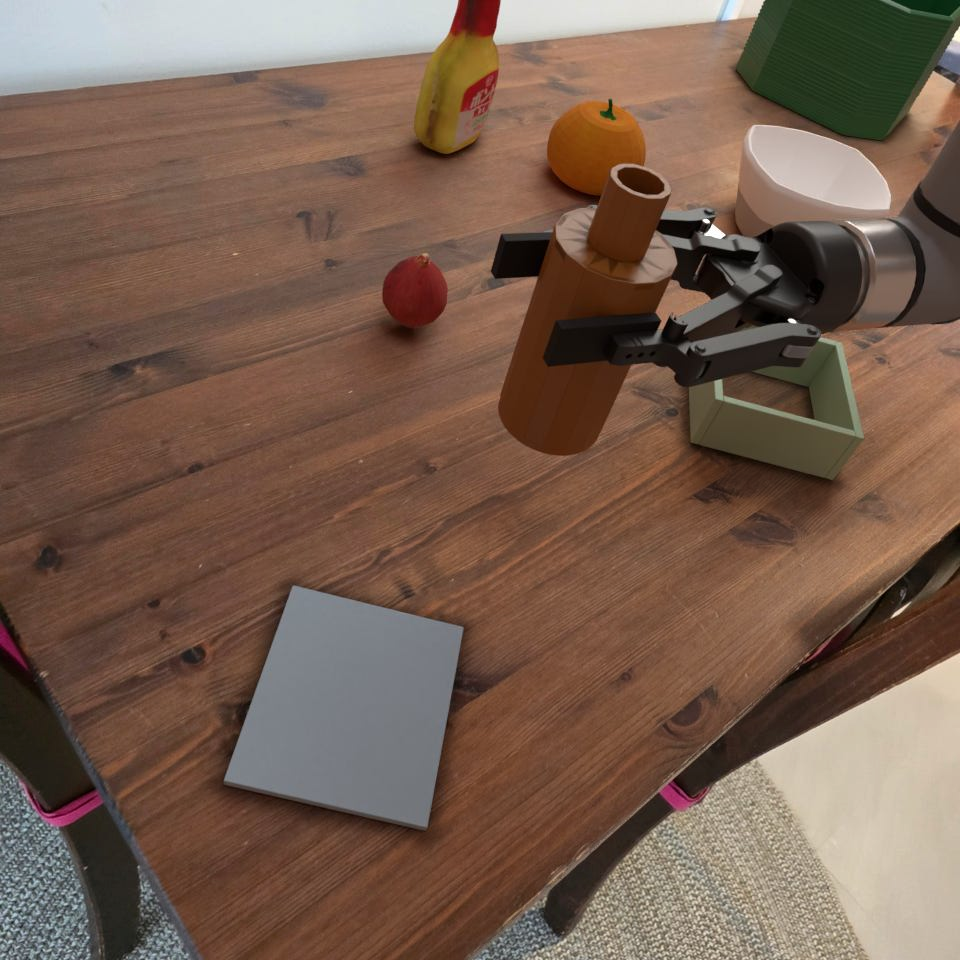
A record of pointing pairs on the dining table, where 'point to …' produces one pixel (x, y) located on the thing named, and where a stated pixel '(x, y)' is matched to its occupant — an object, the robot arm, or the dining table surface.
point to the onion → (415, 291)
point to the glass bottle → (587, 310)
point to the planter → (848, 58)
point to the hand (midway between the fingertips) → (524, 298)
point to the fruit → (593, 144)
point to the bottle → (460, 80)
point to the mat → (350, 709)
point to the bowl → (804, 181)
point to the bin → (786, 417)
